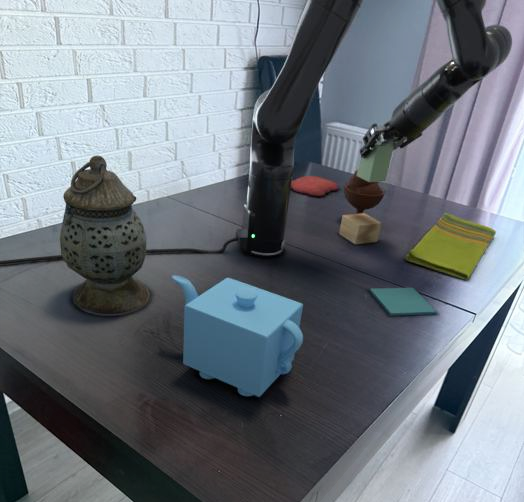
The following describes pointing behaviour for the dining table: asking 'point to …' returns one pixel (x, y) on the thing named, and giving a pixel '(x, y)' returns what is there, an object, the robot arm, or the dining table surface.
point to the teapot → (240, 334)
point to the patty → (313, 186)
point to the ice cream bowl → (362, 193)
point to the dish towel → (452, 246)
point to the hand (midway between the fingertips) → (371, 154)
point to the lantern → (103, 241)
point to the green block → (376, 163)
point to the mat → (402, 301)
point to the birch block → (360, 228)
